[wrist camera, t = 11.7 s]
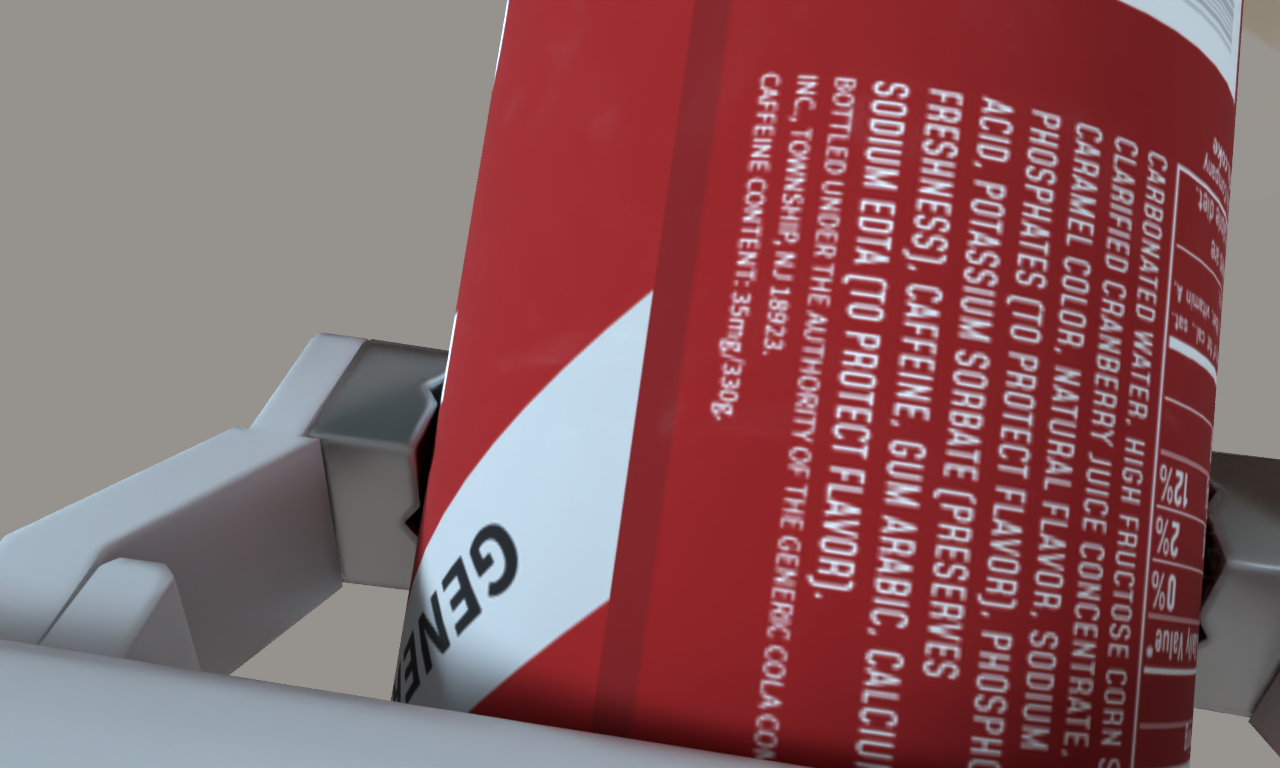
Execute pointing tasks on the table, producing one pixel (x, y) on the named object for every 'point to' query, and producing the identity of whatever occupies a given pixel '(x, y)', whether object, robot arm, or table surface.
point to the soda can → (836, 381)
